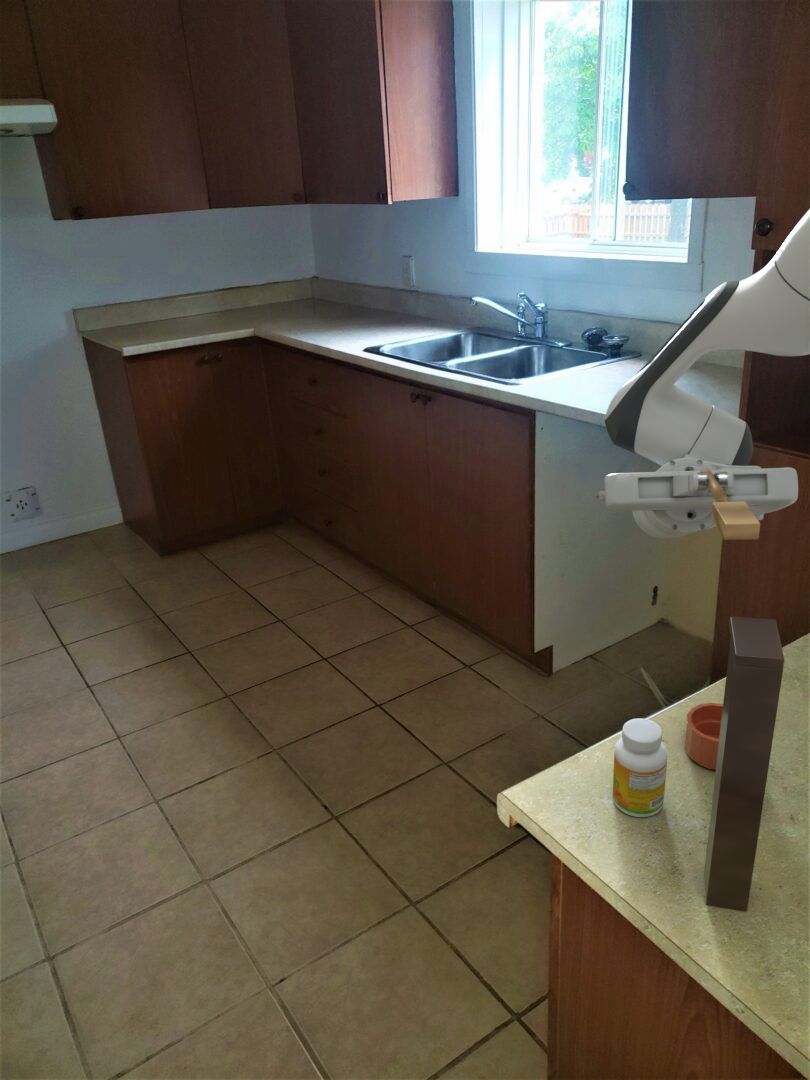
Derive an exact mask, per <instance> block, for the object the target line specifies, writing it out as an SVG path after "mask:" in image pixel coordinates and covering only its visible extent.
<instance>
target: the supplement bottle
mask: <svg viewBox="0 0 810 1080" xmlns="http://www.w3.org/2000/svg"><path fill="white" fill-rule="evenodd" d="M613 753H614V754H613V755H614V756H613V776H612V799H613V802H614V805H615V806H616V807H617V808H618V810H620V811H621V812H622V813H624V814H626V815H627V816H631V817H633V818H634V817H635V818H648V817H652V816H654V815H656V814H658V813H659V812H660V811H661V810H662V808H663V806H664V802H665V791H666V781H667V779H666V778H667V769H668V768H667V767H668V751H667V748H666V746H665V744H664V743H663V729H662V727H661V726H660V725H659V723H657V722H655V721H653V720H651V719H647V718H641V717H640V718H639V717H637V718H632V719H629V720H628V721H626V722H625V723H623V726H622V731H621V737H620V738H619V739H618V740H617V741H616V743H615V746H614V752H613Z"/></svg>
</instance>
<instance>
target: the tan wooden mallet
mask: <svg viewBox="0 0 810 1080" xmlns="http://www.w3.org/2000/svg"><path fill="white" fill-rule="evenodd" d="M700 472H707V475H708V478H707V480H706V481H707V482H708V489H709V490H710V492H711V493H712V495H713V497H714V498H715V500H716V502H713V505H712V515H711V517H712V519H713V521H714V523H715V524H716V528H717V530H718V531H719V533H720V535H721V537H722V538H723V540H724V541H737V540H739V541H740V540H741V541H742V540H744V541H745V540H759V538H760V532H761V531H760V529H761V522H760V521H758V519H757V518H756V516H755V515H754V514H753V512H752V511H751V509H750V508H749V506H748V505H747V503H746V502H745V501H742V502H730V500H729V498H728V497H727V495H726V494H725V492H724V491H723V489H722V488H721V486H720V484H719V483H718V481H717V480H716V478H715V477H714V475H713V473H712V472H711V470H710V469H709V468H702V469H701V471H700Z"/></svg>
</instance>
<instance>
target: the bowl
mask: <svg viewBox="0 0 810 1080" xmlns="http://www.w3.org/2000/svg"><path fill="white" fill-rule="evenodd" d="M722 710H723V703H718V702H717V703H716V702H707V703H701V704H698V705H695V706H693V707H692V708H690V710H689V711H688V713H687V714H686V719H685V731H684V739H683V741H684V742H683V743H684V744H683V746H684V751H685V752H686V755H688V757H689V758H690V759H691V760H693V761H694V762H695V763H696V764H698V765H699V766H702V767H704V768H706V769H709V770H713V771H716V763H717V754H718V746H719V737H720V728H721V719H722Z"/></svg>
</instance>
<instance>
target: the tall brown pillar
mask: <svg viewBox="0 0 810 1080" xmlns="http://www.w3.org/2000/svg"><path fill="white" fill-rule="evenodd" d="M728 628H729V635H730V640H729V648H728V649H729V651H728V658H727V667H726V676H725V683H724V684H725V686H724V693H723V703H722V704H723V710H722V719H721V728H720V737H719V746H718V754H717V763H716V770H715V772H714V773H715V774H714V782H713V790H712V799H711V808H710V816H709V826H708V833H707V834H708V835H707V842H706V843H707V844H706V852H705V861H704V869H703V875H704V893H705V895H704V896H705V905H706V906H711V907H718V908H722V909H729V910H735V911H740V912H741V911H742V912H745V913H746V912H748V908H749V901H750V894H751V890H752V889H751V887H752V882H753V881H752V880H753V875H754V867H755V862H756V861H755V860H756V855H757V848H758V843H759V841H758V840H759V835H760V829H761V821H762V816H763V815H762V814H763V808H764V799H765V793H766V787H767V781H768V775H769V767H770V760H771V754H772V747H773V741H774V734H775V727H776V722H777V721H776V720H777V714H778V706H779V701H780V693H781V687H782V679H783V675H784V674H783V673H784V666H785V655H784V651H783V647H782V642H781V638H780V637H781V636H780V633H779V629H778V625H777V620H776V619H770V618H756V617H743V616H730V617H729V623H728Z"/></svg>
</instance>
